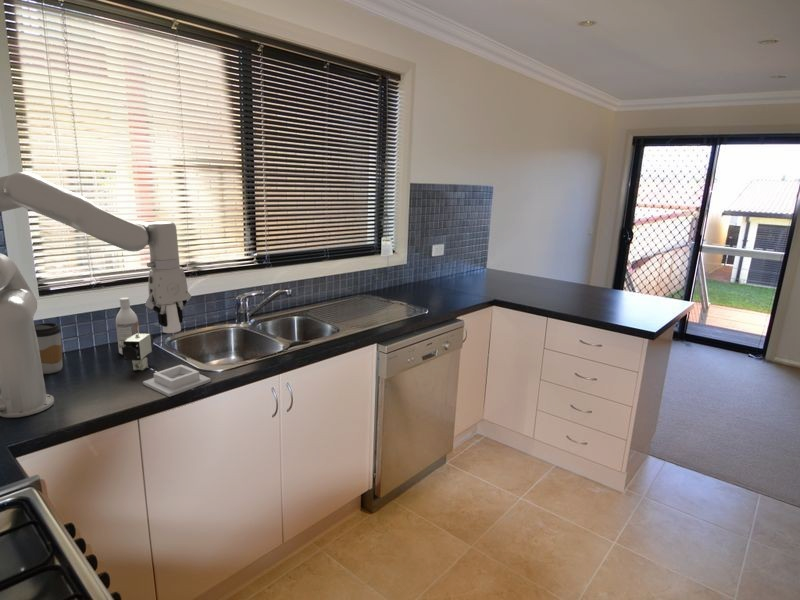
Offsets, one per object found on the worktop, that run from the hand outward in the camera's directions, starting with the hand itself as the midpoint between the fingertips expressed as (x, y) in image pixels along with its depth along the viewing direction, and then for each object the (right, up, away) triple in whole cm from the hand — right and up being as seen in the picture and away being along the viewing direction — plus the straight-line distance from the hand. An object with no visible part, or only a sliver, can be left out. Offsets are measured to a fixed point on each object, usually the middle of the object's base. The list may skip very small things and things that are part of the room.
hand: (171, 323), depth 147 cm
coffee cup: (-44, -16, +11) cm, 48 cm away
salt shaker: (0, -2, +1) cm, 3 cm away
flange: (0, -19, +5) cm, 20 cm away
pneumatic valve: (-18, -16, +15) cm, 28 cm away
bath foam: (-28, -12, +29) cm, 42 cm away
